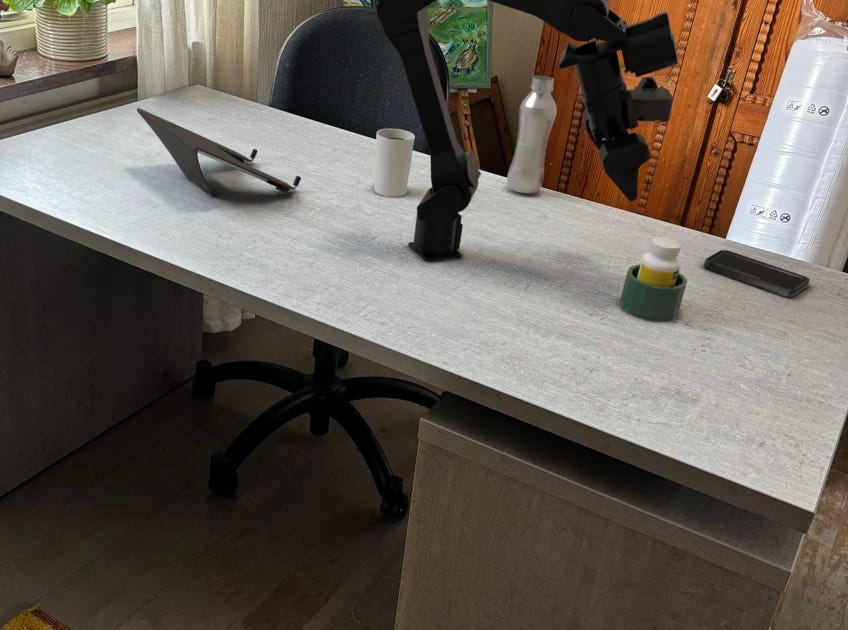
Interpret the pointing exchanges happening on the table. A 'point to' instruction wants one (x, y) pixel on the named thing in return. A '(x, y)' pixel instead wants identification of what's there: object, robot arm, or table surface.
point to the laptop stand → (205, 153)
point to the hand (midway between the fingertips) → (626, 186)
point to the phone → (757, 273)
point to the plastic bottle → (533, 137)
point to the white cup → (393, 161)
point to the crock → (651, 297)
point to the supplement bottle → (660, 263)
